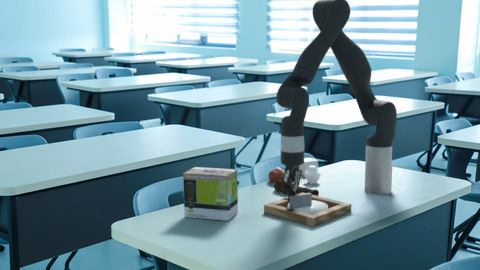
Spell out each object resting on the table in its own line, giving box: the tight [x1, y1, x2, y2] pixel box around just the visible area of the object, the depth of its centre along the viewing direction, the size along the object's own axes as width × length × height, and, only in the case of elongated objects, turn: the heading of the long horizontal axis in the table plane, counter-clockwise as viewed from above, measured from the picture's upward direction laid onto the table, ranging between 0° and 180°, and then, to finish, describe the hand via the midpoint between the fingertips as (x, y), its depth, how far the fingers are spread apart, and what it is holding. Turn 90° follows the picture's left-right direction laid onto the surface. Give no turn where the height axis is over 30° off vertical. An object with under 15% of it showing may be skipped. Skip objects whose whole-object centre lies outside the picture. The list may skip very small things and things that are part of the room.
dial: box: [288, 193, 328, 214], centre depth 198 cm, size 13×13×6 cm
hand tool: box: [273, 180, 320, 196], centre depth 219 cm, size 19×4×5 cm, turn 43°
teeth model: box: [268, 167, 285, 183], centre depth 238 cm, size 8×6×12 cm
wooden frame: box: [263, 193, 352, 228], centre depth 199 cm, size 20×20×3 cm
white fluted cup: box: [304, 165, 322, 185], centre depth 235 cm, size 6×6×7 cm
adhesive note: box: [299, 157, 319, 177], centre depth 249 cm, size 6×6×6 cm
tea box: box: [182, 166, 239, 222], centre depth 196 cm, size 15×10×15 cm, turn 71°
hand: (292, 201), depth 199 cm, fingers closed
